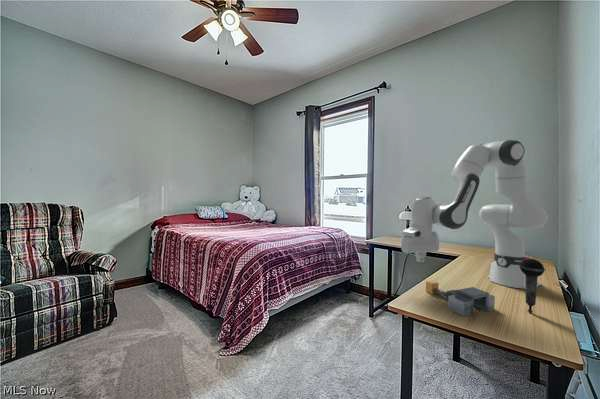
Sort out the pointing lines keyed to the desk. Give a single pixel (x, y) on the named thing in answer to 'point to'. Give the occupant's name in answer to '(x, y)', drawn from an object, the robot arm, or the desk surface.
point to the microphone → (531, 279)
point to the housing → (470, 301)
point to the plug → (433, 288)
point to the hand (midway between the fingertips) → (420, 261)
